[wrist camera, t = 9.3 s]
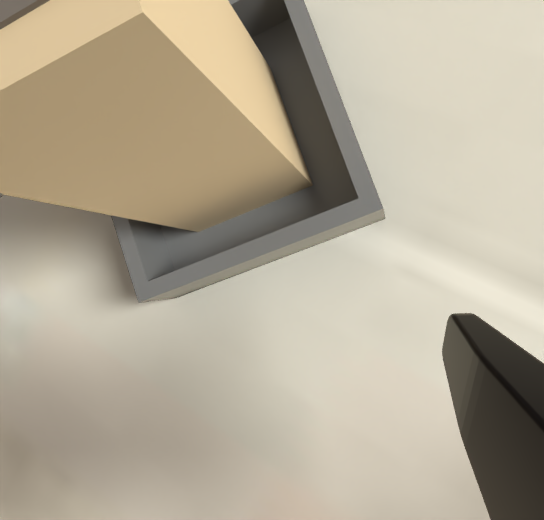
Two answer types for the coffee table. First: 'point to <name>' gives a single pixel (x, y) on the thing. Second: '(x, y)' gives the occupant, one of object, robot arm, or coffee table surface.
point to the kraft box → (141, 111)
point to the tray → (283, 212)
